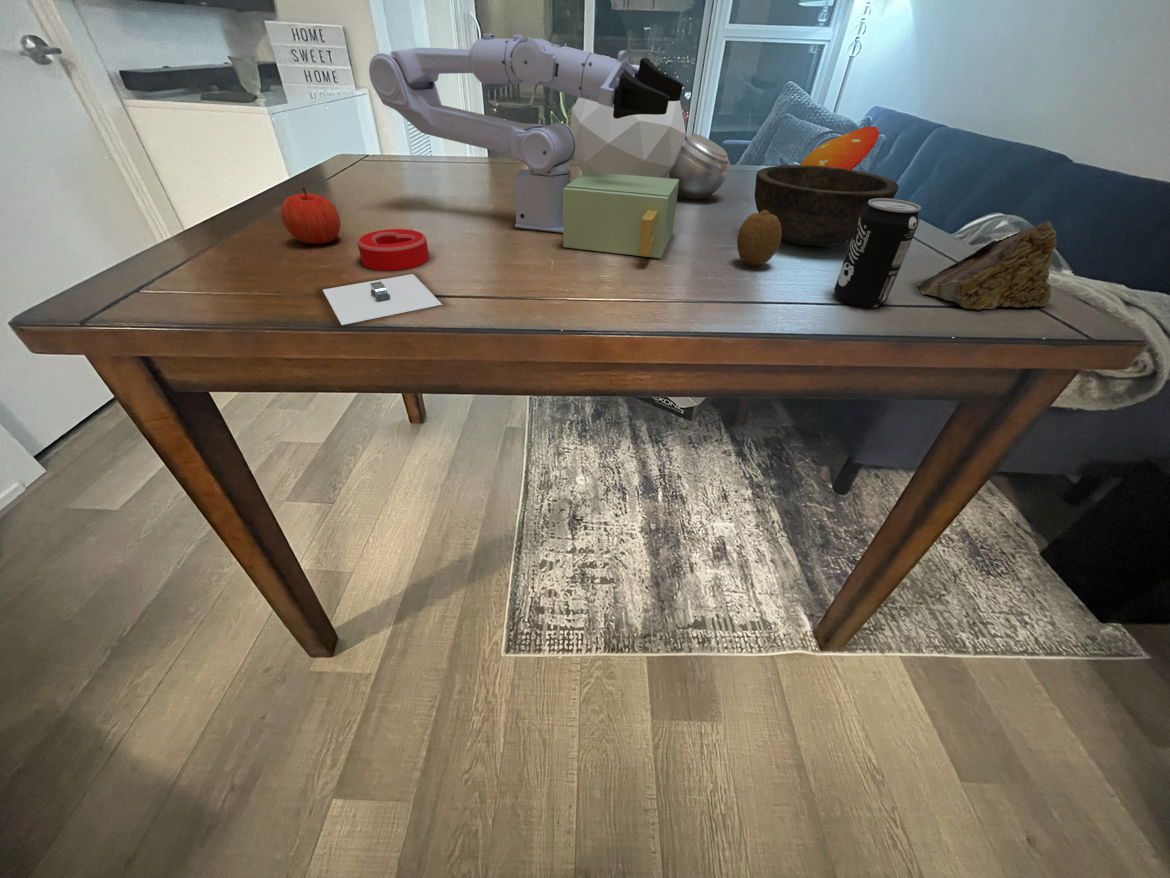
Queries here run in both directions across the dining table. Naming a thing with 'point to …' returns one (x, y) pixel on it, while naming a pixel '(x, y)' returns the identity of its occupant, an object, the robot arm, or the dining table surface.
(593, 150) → the lamp
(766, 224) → the fruit
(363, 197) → the dining table surface
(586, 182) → the cupboard
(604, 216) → the cupboard door
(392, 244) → the decorative ornament
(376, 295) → the white paper sheet
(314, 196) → the apple
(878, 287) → the beverage can
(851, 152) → the decorative mushroom
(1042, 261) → the mineral specimen
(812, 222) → the bowl
